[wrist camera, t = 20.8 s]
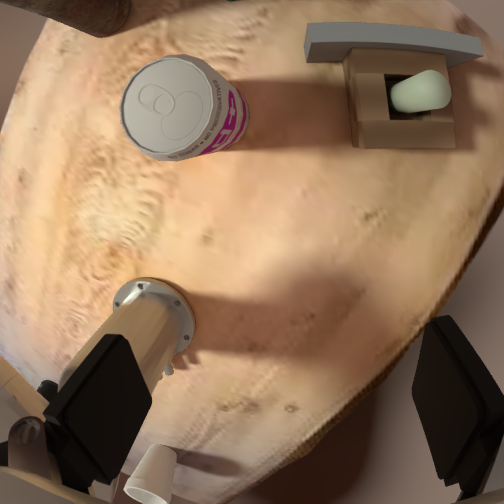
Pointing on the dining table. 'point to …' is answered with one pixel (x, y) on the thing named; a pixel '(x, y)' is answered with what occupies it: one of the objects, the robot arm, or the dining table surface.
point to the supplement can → (181, 109)
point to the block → (376, 105)
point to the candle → (80, 13)
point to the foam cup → (153, 476)
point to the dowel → (419, 93)
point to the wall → (386, 41)
